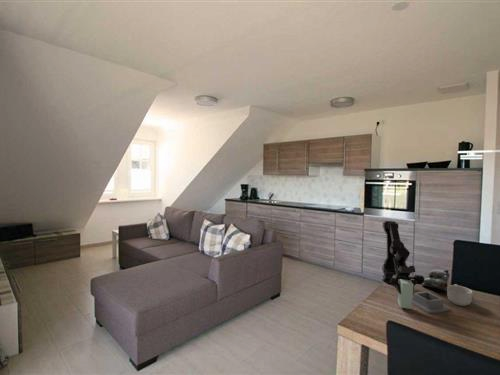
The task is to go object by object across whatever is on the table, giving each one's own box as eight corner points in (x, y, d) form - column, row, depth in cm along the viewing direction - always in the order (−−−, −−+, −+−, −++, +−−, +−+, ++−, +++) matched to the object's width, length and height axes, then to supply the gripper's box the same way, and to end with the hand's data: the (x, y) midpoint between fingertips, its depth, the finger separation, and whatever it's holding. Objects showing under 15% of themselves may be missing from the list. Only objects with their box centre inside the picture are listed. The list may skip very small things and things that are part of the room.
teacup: (472, 310, 136) (473, 295, 135) (445, 303, 142) (446, 289, 141) (470, 299, 147) (471, 285, 146) (446, 294, 153) (447, 280, 153)
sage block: (397, 302, 140) (399, 278, 138) (408, 303, 138) (410, 280, 137) (400, 307, 135) (402, 282, 134) (411, 308, 134) (413, 284, 132)
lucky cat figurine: (416, 283, 166) (421, 262, 170) (433, 291, 166) (439, 270, 169) (434, 287, 152) (439, 264, 155) (453, 296, 152) (458, 272, 155)
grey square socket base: (406, 300, 145) (406, 291, 145) (426, 297, 149) (426, 288, 148) (429, 313, 132) (429, 304, 132) (450, 310, 135) (451, 301, 135)
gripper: (385, 257, 141) (390, 286, 131) (424, 260, 136) (432, 291, 127) (380, 266, 149) (385, 294, 139) (417, 269, 145) (424, 298, 135)
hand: (406, 294), depth 135 cm, fingers closed on sage block, 5 cm apart
